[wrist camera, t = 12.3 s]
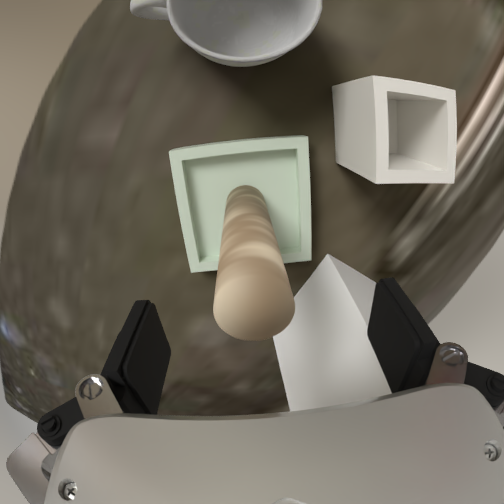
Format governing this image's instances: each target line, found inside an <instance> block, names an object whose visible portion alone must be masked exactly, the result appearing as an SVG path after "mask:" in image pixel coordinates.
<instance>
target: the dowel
mask: <svg viewBox="0 0 504 504" xmlns="http://www.w3.org/2000/svg"><path fill="white" fill-rule="evenodd" d="M213 312H214V317H215V320H216V322H217V324H218V325H219V327H220V328H221V329H222V330H223V331H225V332H226V333H227V334H229V335H231V336H233V337H235V338H238V339H241V340H247V341H258V340H264V339H268V338H271V337H273V336H275V335H277V334H279V333H280V332H282V331H283V330H284V329H285V328H286V327H287V326H288V325H289V324H290V322H291V321H292V319H293V316H294V313H295V301H294V297H293V294H292V290H291V287H290V283H289V280H288V276H287V273H286V270H285V266H284V263H283V259H282V256H281V253H280V249H279V246H278V242H277V239H276V236H275V232H274V229H273V226H272V223H271V219H270V216H269V213H268V209H267V206H266V203H265V200H264V197H263V195H262V193H261V192H260V191H259V190H258V189H257V188H255V187H253V186H249V185H242V186H238V187H236V188H235V189H233V190H232V191H231V192H230V193H229V195H228V197H227V201H226V208H225V215H224V223H223V230H222V238H221V246H220V254H219V262H218V271H217V279H216V288H215V297H214V306H213Z"/></svg>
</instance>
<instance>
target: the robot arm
mask: <svg viewBox="0 0 504 504" xmlns="http://www.w3.org/2000/svg"><path fill="white" fill-rule="evenodd" d="M367 336H368V339H369V341H370V343H371V345H372V348H373V350H374V352H375V354H376V357H377V359H378V361H379V364H380V366H381V368H382V371H383V373H384V375H385V378H386V380H387V383H388V385H389V387H390V390H391V392H392V394H388V395H383V396H379V397H374V398H370V399H365V400H360V401H356V402H350V403H345V404H340V405H334V406H328V407H321V408H314V409H307V410H299V411H291V412H281V413H270V414H256V415H237V416H174V415H157V411H158V407H159V402H160V398H161V393H162V389H163V385H164V381H165V376H166V372H167V368H168V364H169V360H170V356H171V349H170V346H169V343H168V341H167V338H166V335H165V333H164V330H163V327H162V324H161V321H160V319H159V316H158V313H157V310H156V307H155V305H154V303H151V302H150V301H149V300H138V301H136V302H135V303H134V305H133V307H132V309H131V311H130V313H129V315H128V317H127V319H126V322H125V324H124V326H123V328H122V330H121V331H120V333H119V334H118V336H117V339H116V341H115V343H114V345H113V347H112V350H111V352H110V354H109V356H108V359H107V361H106V363H105V365H104V368H103V370H102V372H101V375H97V374H94V375H89V376H86V377H84V378H83V379H82V380H81V381H80V382H79V383H78V384H77V386H76V390H75V394H76V397H75V398H73V399H71V400H70V401H68V402H66V403H64V404H62V405H61V406H59V407H57V408H55V409H54V410H52V411H50V412H48V413H46V414H45V415H44V416H42V417H41V419H40V420H39V422H38V426H37V431H38V432H37V433H36V434H34V433H32V434H31V435H30V436H29V437H28V438H27V439H25V440H24V442H23V443H21V444H20V445H19V446H18V447H17V448H16V449H15V450H14V451H13V452H12V453H11V454H10V456H9V457H8V458H7V462H6V466H7V470H8V472H9V474H10V475H11V477H12V478H13V480H14V482H15V483H16V485H17V486H18V488H19V489H20V491H21V492H22V494H23V495H24V496H25V498H26V499H27V501H28V502H29V503H30V504H504V375H502V374H500V373H498V372H495V371H492V370H490V369H487V368H484V367H481V366H479V365H476V364H473V363H470V362H468V355H467V353H466V351H465V350H464V349H463V348H462V347H461V346H460V345H458V344H456V343H451V342H447V343H443V344H440V343H439V341H438V340H437V338H436V337H435V335H434V334H433V332H432V331H431V329H430V328H429V326H428V325H427V323H426V322H425V320H424V319H423V317H422V316H421V314H420V313H419V312H418V310H417V309H416V307H415V306H414V305H413V304H412V302H411V301H410V300H409V298H408V297H407V295H406V294H405V293H404V291H403V290H402V289H401V287H400V286H399V284H398V283H397V282H396V280H395V279H394V278H385V279H380V281H379V283H376V285H375V291H374V297H373V303H372V308H371V313H370V319H369V324H368V329H367Z"/></svg>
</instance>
